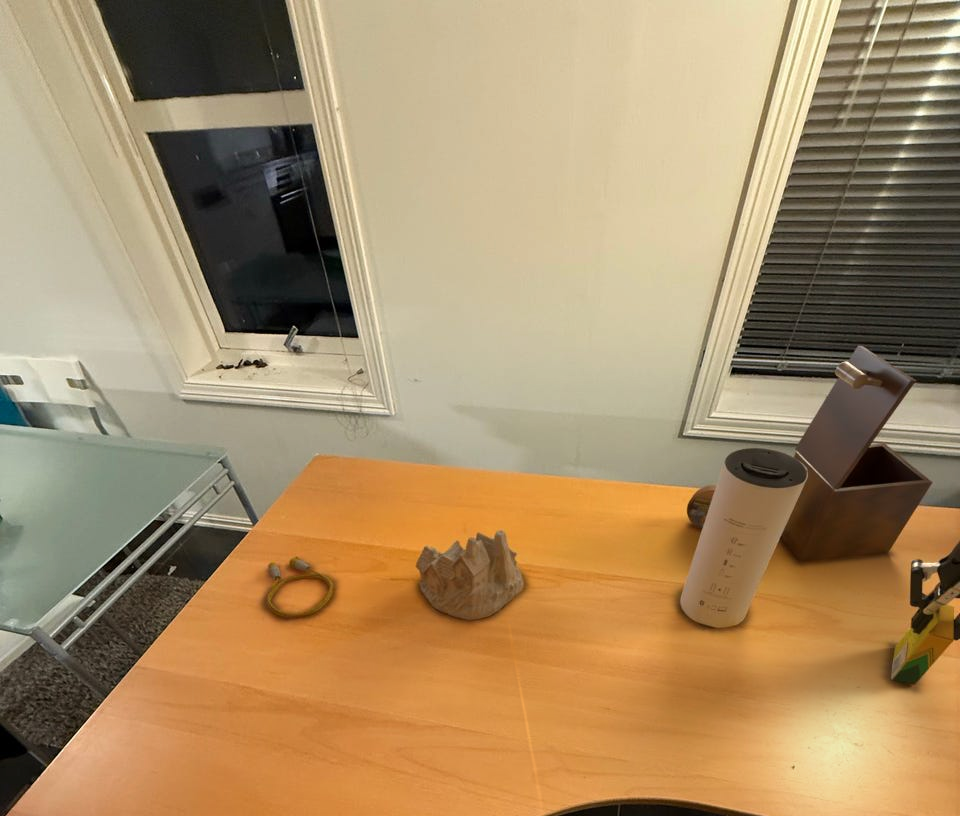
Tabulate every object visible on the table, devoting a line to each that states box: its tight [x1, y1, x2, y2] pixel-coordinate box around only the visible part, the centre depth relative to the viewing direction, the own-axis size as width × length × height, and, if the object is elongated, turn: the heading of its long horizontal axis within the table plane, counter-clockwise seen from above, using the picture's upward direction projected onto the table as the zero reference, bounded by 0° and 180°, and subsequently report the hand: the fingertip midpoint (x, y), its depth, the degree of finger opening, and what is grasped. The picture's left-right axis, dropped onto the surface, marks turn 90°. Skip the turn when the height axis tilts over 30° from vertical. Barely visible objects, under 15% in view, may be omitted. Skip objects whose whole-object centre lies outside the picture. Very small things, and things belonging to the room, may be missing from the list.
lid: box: [794, 345, 917, 489], centre depth 83 cm, size 17×13×5 cm
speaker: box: [679, 447, 808, 629], centre depth 80 cm, size 11×10×26 cm
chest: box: [780, 442, 933, 563], centre depth 95 cm, size 16×13×14 cm
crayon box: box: [890, 604, 955, 687], centre depth 75 cm, size 7×3×12 cm, turn 149°
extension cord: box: [266, 556, 334, 618], centre depth 97 cm, size 12×16×2 cm
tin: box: [686, 484, 717, 530], centre depth 100 cm, size 15×3×8 cm, turn 62°
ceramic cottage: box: [415, 529, 525, 621], centre depth 91 cm, size 16×16×15 cm
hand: (931, 633), depth 74 cm, fingers closed on crayon box, 3 cm apart
